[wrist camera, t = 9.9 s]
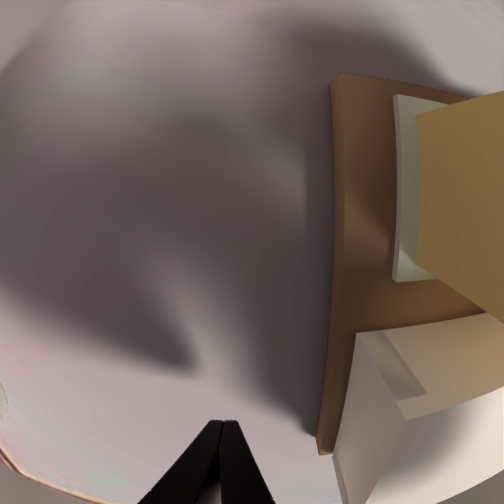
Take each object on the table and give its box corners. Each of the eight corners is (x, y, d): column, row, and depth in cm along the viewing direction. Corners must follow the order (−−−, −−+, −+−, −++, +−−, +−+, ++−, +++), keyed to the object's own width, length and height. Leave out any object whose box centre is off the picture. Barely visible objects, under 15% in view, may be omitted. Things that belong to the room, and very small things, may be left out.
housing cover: (514, 306, 8) (573, 347, 4) (469, 420, 9) (503, 469, 6) (356, 333, 8) (406, 420, 4) (332, 457, 9) (348, 529, 6)
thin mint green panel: (509, 125, 6) (515, 125, 6) (504, 268, 8) (509, 271, 7) (392, 96, 6) (397, 93, 6) (391, 278, 8) (395, 282, 7)
